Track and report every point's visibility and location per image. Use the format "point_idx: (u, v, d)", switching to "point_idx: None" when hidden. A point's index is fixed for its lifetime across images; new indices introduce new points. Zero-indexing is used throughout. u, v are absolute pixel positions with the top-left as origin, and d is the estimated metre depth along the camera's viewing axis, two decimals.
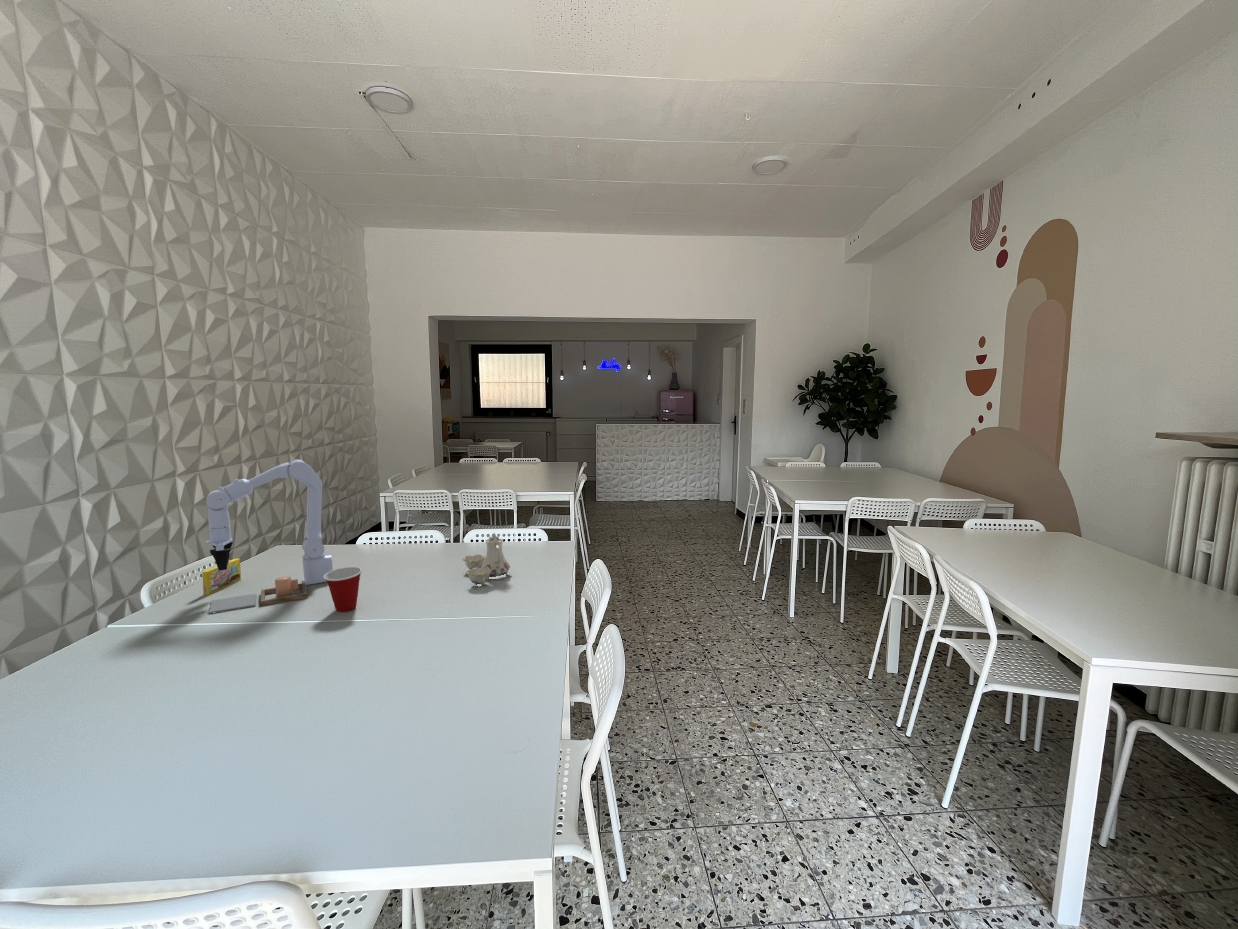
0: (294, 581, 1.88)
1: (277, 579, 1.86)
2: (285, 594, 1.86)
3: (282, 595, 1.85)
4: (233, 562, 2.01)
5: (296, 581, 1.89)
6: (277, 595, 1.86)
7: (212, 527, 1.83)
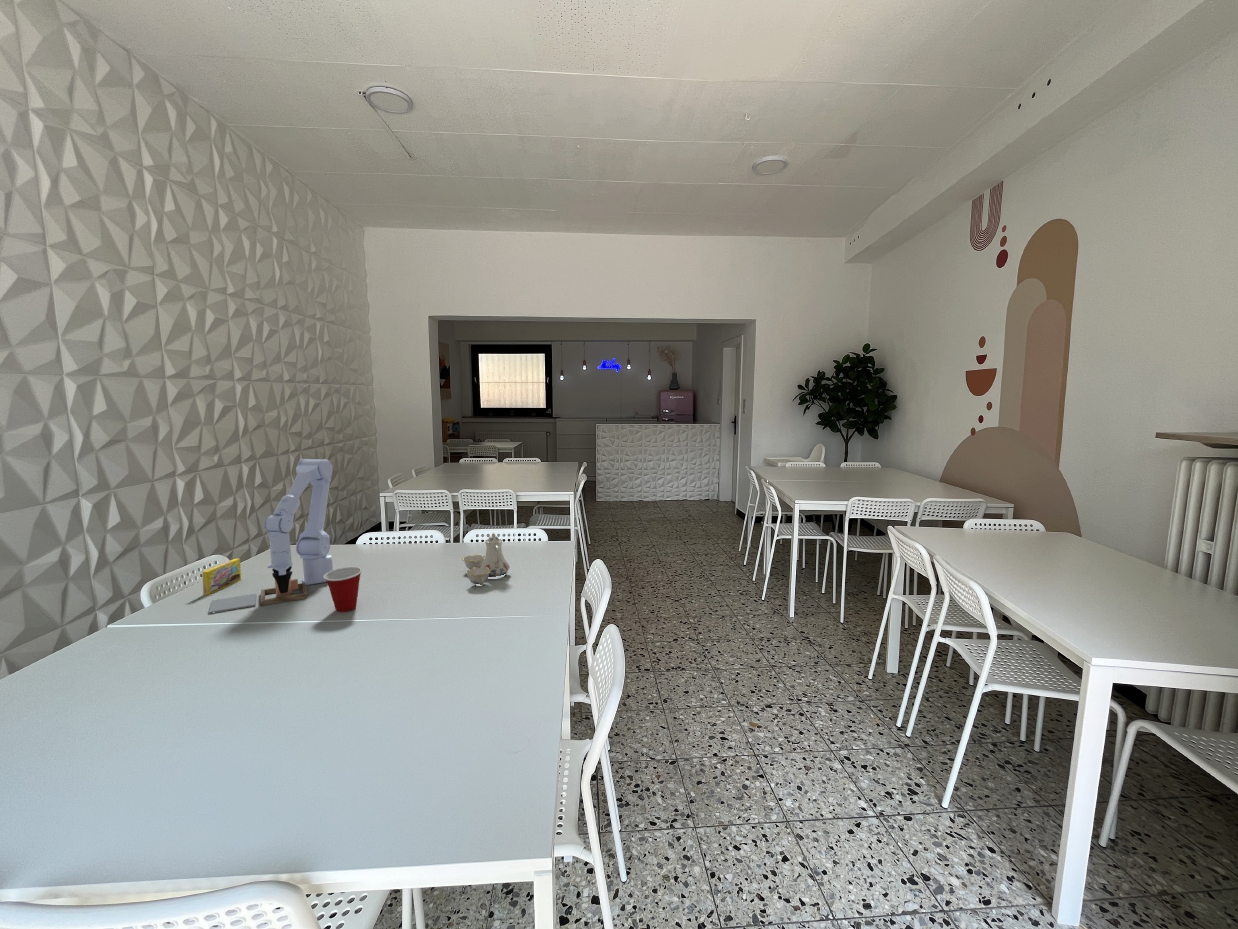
0: (294, 581, 1.88)
1: None
2: (285, 594, 1.86)
3: (282, 595, 1.85)
4: (233, 562, 2.01)
5: (296, 581, 1.89)
6: (277, 595, 1.86)
7: (282, 551, 1.84)
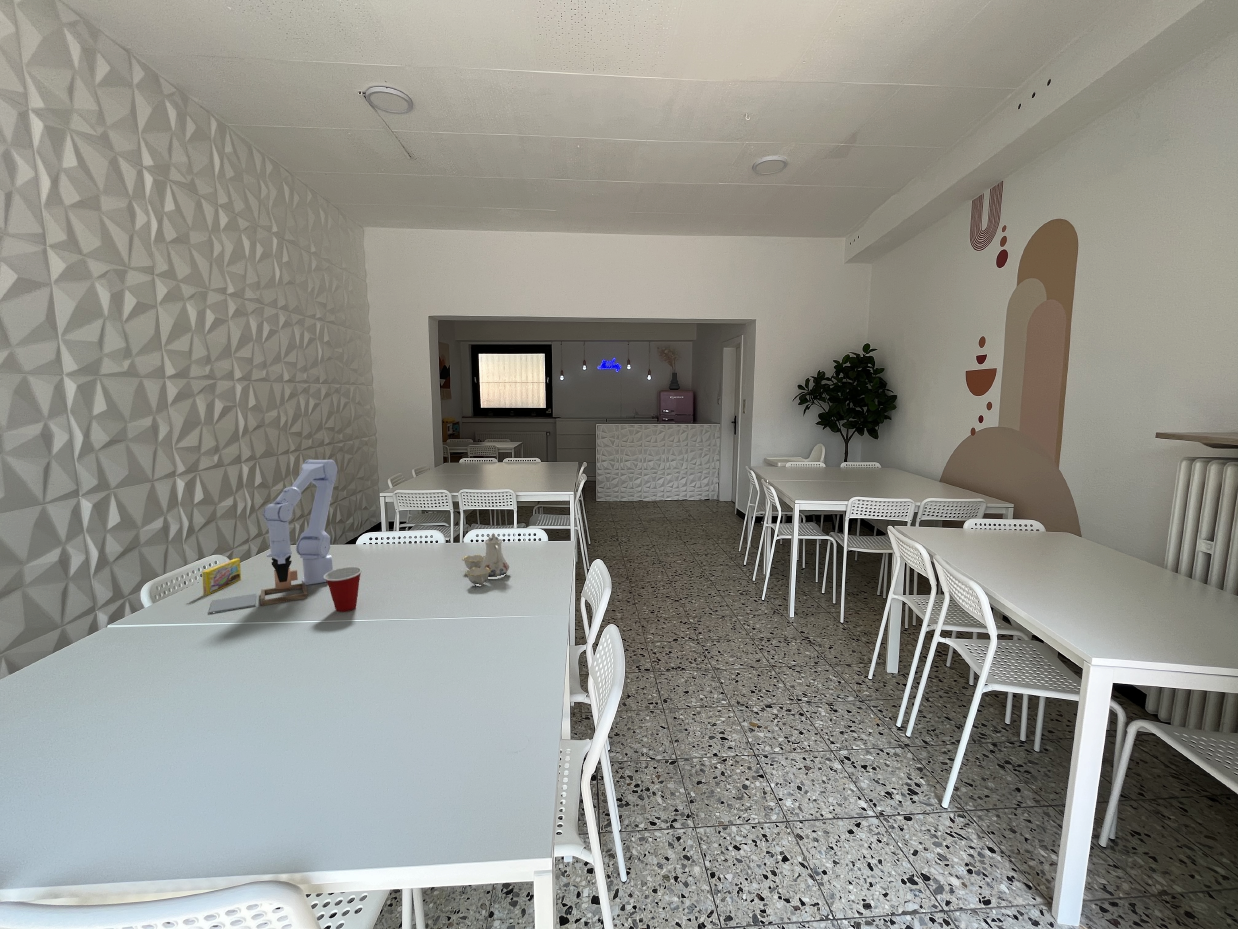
0: (293, 572, 1.88)
1: None
2: (284, 585, 1.86)
3: (281, 586, 1.85)
4: (233, 562, 2.01)
5: (295, 572, 1.88)
6: (276, 586, 1.85)
7: (281, 539, 1.83)
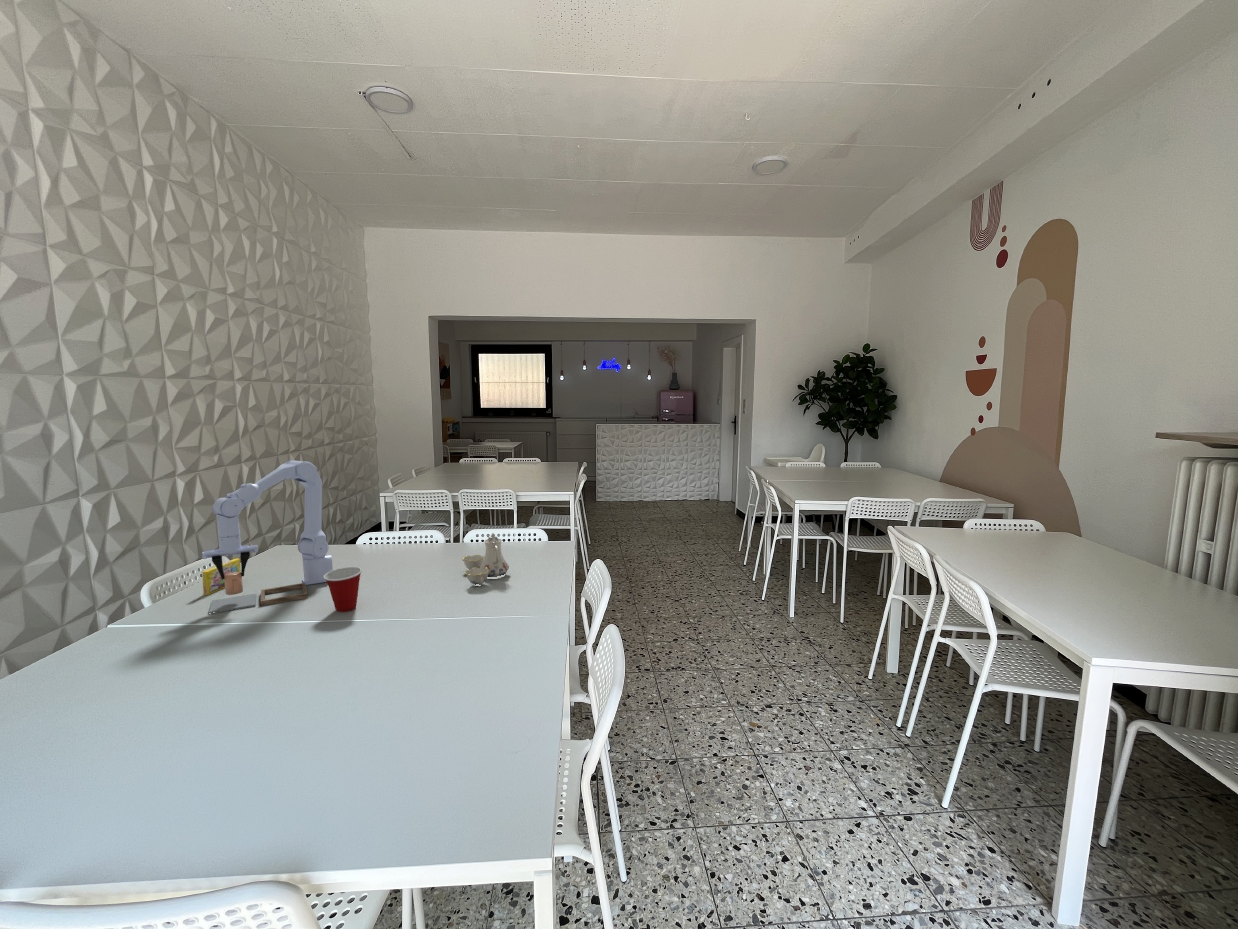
0: (232, 581, 1.77)
1: (232, 572, 1.80)
2: (225, 590, 1.78)
3: None
4: (233, 562, 2.01)
5: (233, 582, 1.76)
6: None
7: (226, 536, 1.75)
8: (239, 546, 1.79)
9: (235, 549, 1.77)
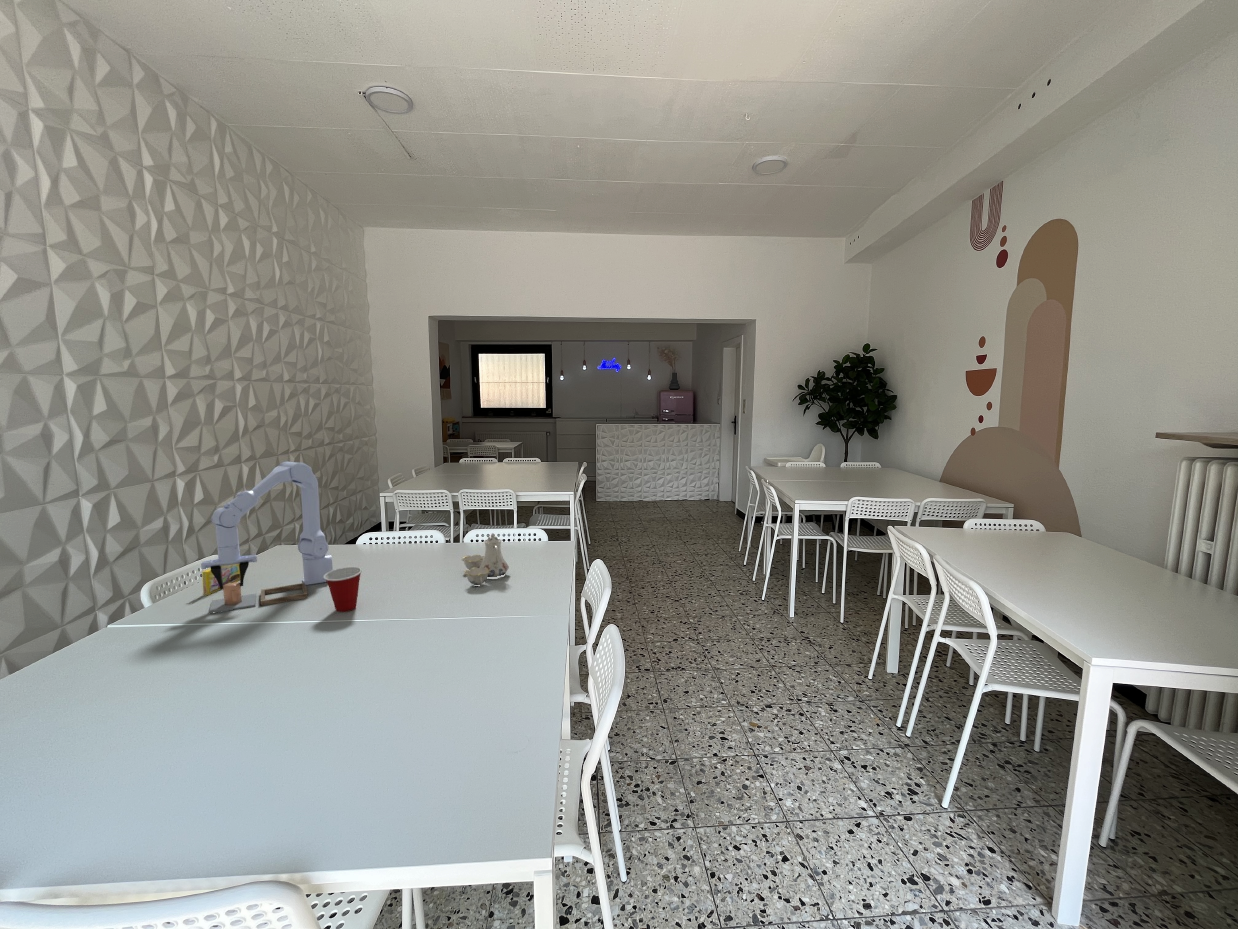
0: (231, 592, 1.77)
1: (232, 583, 1.81)
2: (224, 601, 1.78)
3: (224, 601, 1.79)
4: None
5: (231, 592, 1.76)
6: None
7: (224, 546, 1.75)
8: (238, 556, 1.79)
9: (234, 559, 1.77)
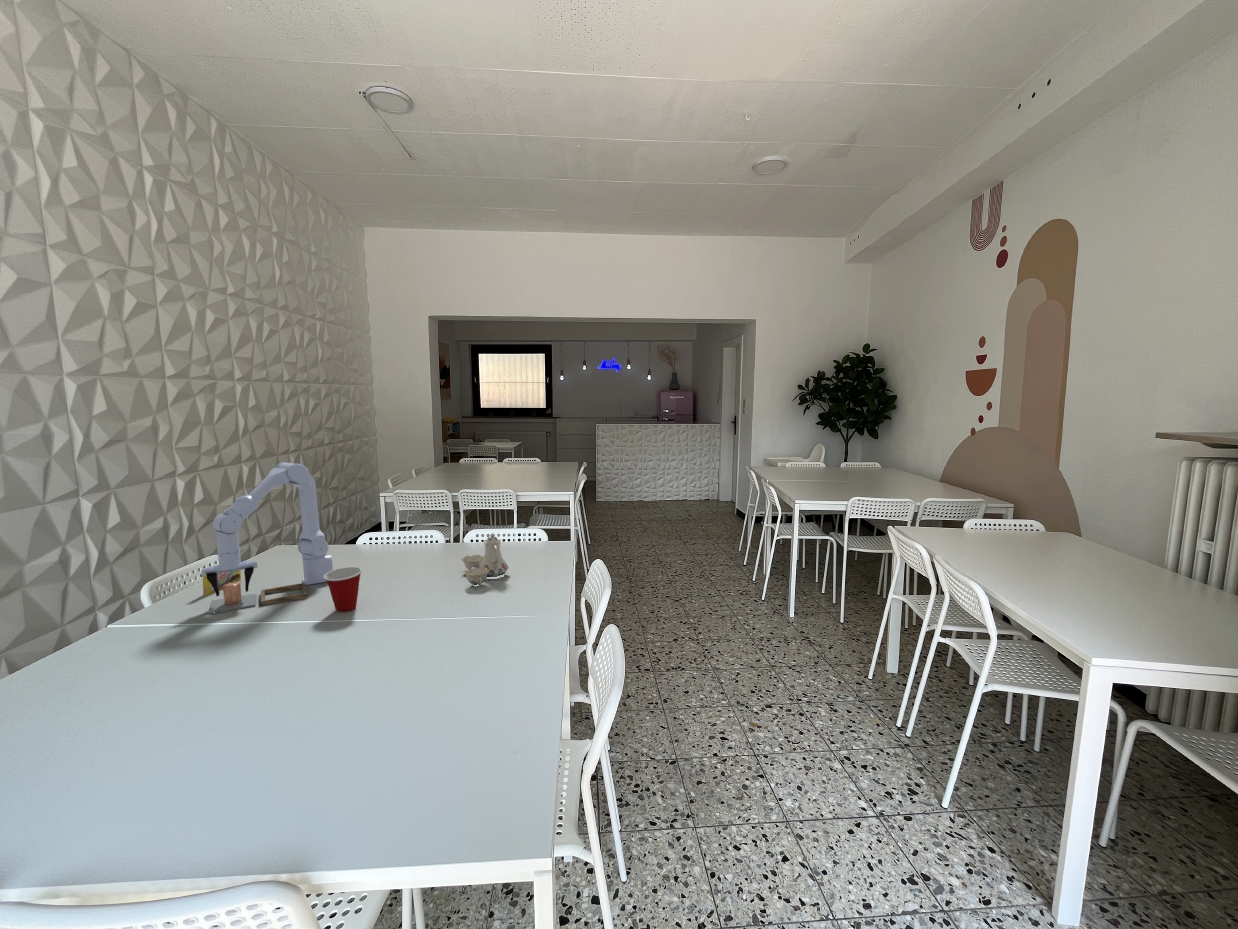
0: (231, 591, 1.77)
1: (232, 583, 1.81)
2: (224, 601, 1.78)
3: (224, 601, 1.79)
4: None
5: (231, 592, 1.76)
6: None
7: (225, 552, 1.76)
8: (238, 562, 1.79)
9: (234, 565, 1.77)
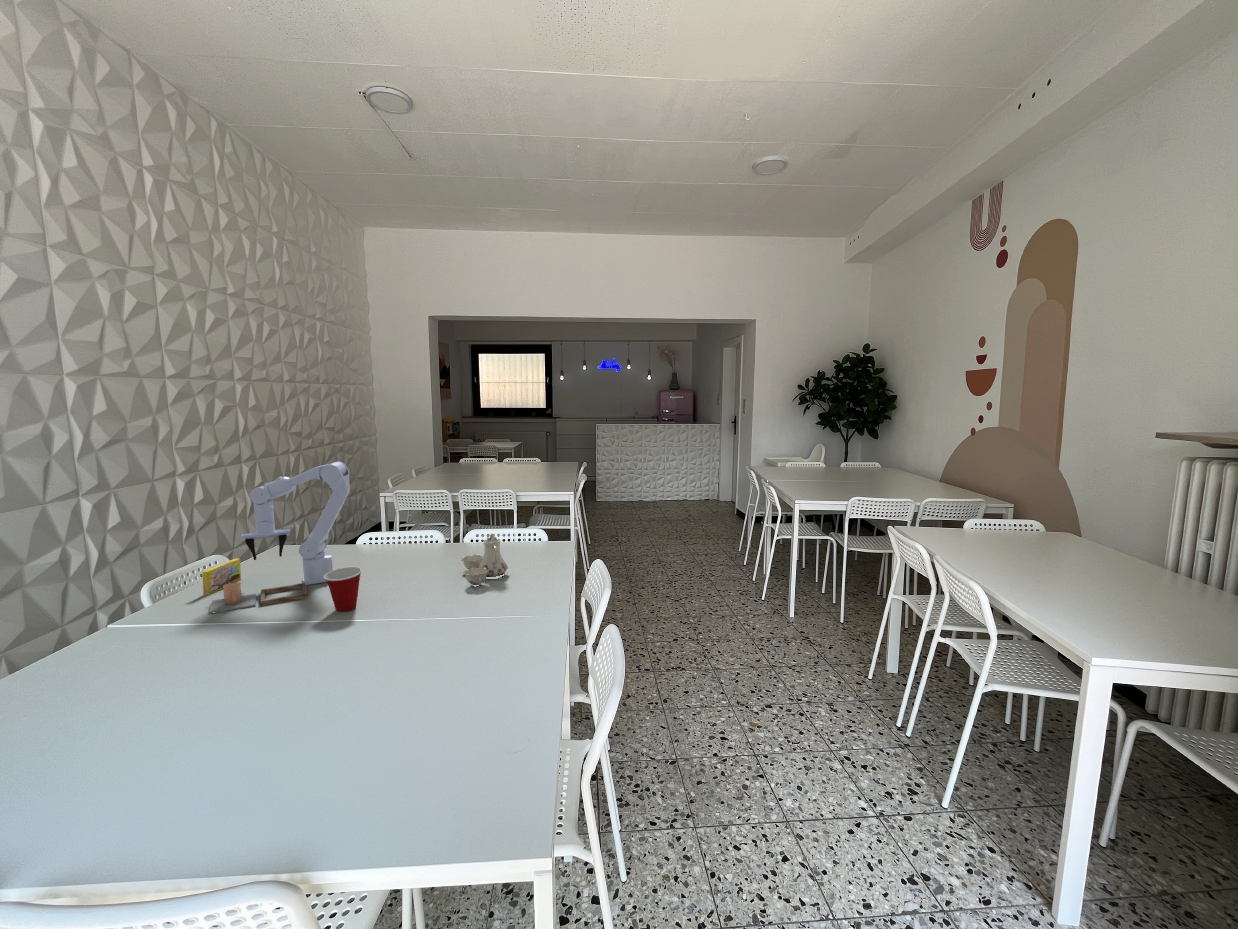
0: (231, 591, 1.77)
1: (232, 583, 1.81)
2: (224, 601, 1.78)
3: (224, 601, 1.79)
4: (233, 562, 2.01)
5: (231, 592, 1.76)
6: None
7: (256, 520, 1.96)
8: (273, 530, 1.99)
9: (270, 532, 1.97)
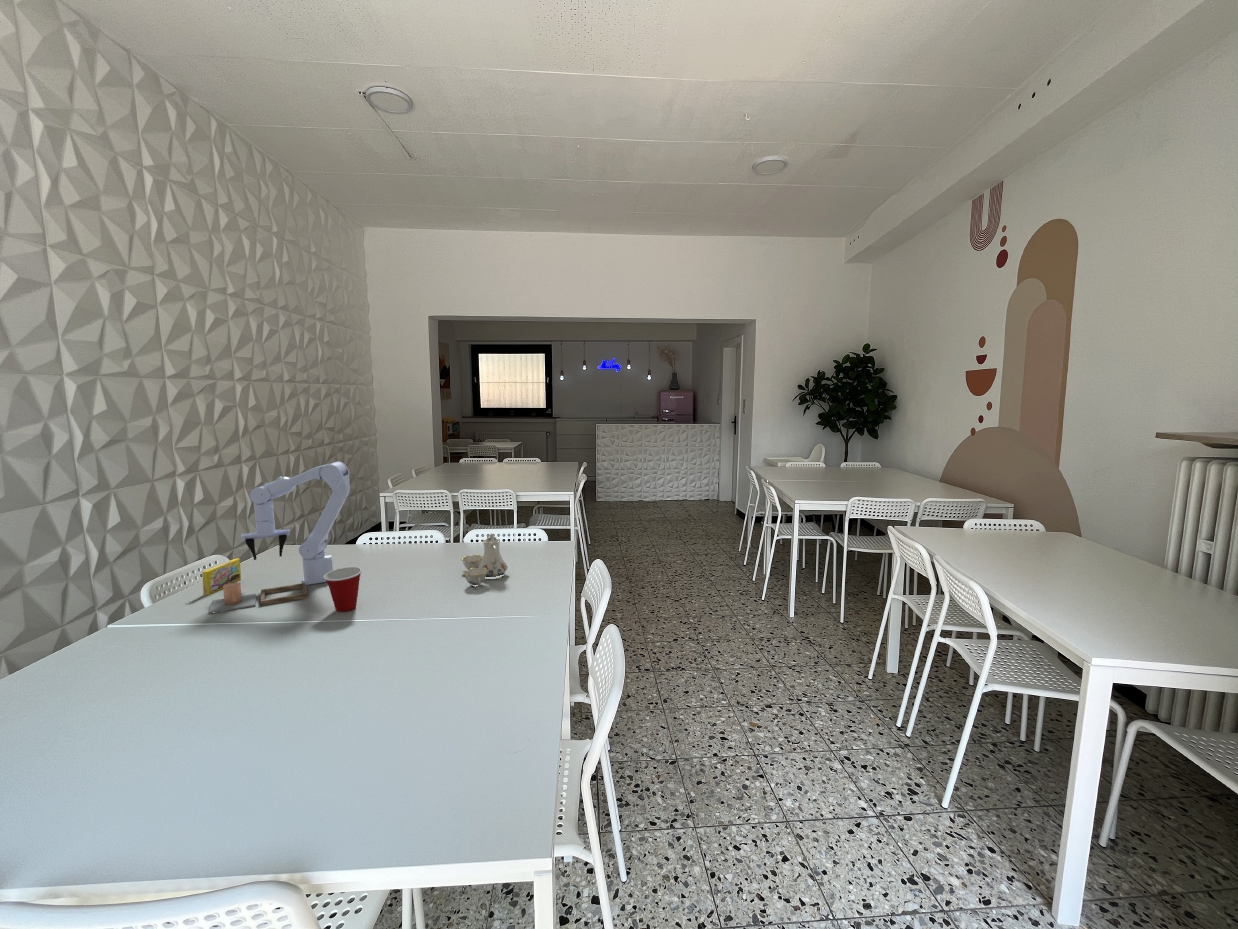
0: (231, 591, 1.77)
1: (232, 583, 1.81)
2: (224, 601, 1.78)
3: (224, 601, 1.79)
4: (233, 562, 2.01)
5: (231, 592, 1.76)
6: None
7: (256, 520, 1.96)
8: (273, 530, 1.99)
9: (270, 532, 1.97)
